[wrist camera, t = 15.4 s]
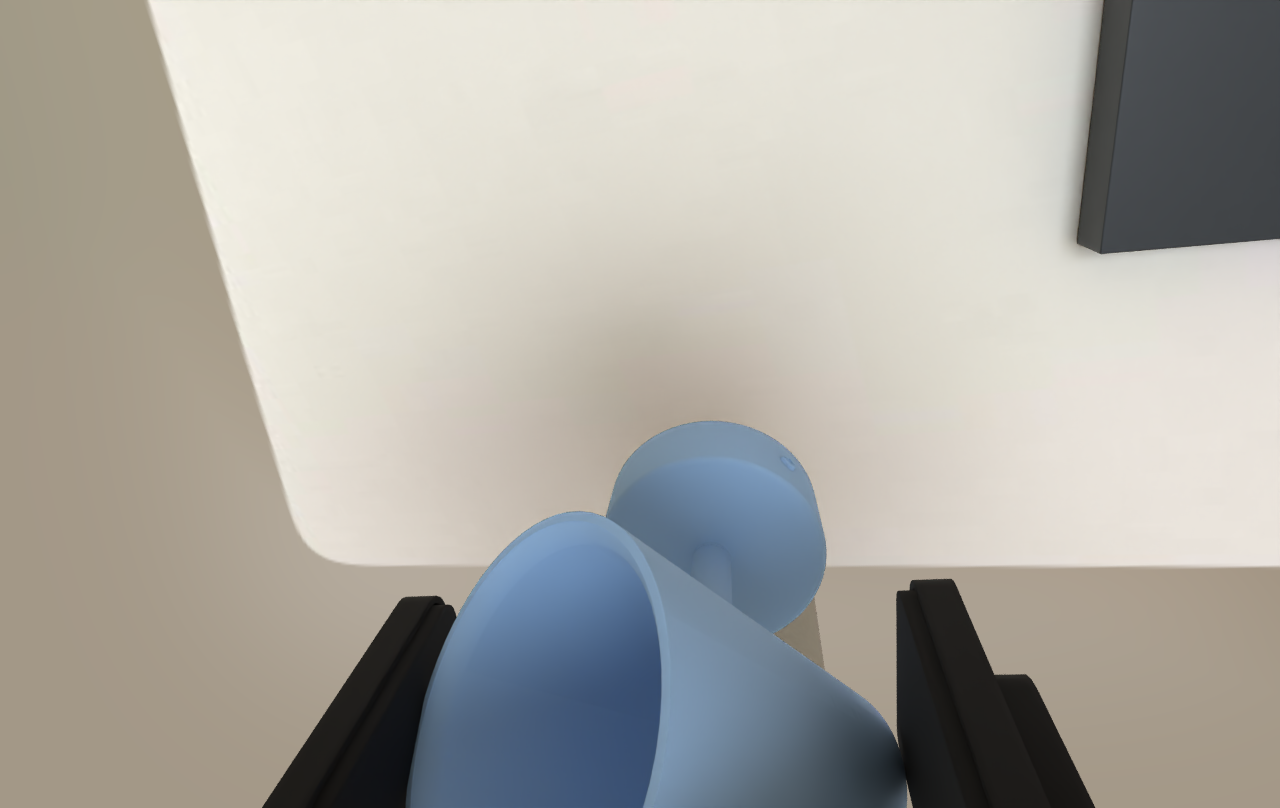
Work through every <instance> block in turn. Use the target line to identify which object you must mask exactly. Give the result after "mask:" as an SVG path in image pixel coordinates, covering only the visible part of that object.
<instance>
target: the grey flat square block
mask: <svg viewBox="0 0 1280 808" xmlns="http://www.w3.org/2000/svg"><path fill="white" fill-rule="evenodd" d="M1271 239H1280V0H1105V4H1104V13H1103V22H1102V30H1101V39H1100V48H1099V57H1098V65H1097V74H1096V83H1095V92H1094V100H1093V109H1092V118H1091V127H1090V136H1089V144H1088V153H1087V162H1086V171H1085V179H1084V188H1083V197H1082V206H1081V214H1080V223H1079V232H1078V241H1077V243H1078V244H1080V245H1082V246H1084V247H1087V248H1089V249H1091V250H1093V251H1095V252H1097V253H1100V254H1107V253H1119V252H1131V251H1142V250H1154V249H1166V248H1177V247H1189V246H1201V245H1213V244H1224V243H1236V242H1248V241H1260V240H1271Z"/></svg>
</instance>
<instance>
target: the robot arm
mask: <svg viewBox="0 0 1280 808" xmlns="http://www.w3.org/2000/svg"><path fill="white" fill-rule="evenodd" d="M896 601H897V602H896V611H897V736H898V744H899V750H900V752H901V756H902V760H903V763H904V768H905V774H906V780H907V784H908V789H909V792H910V797H911V801H912V806H913V808H1095V806H1094V804H1093V802H1092V800H1091V798H1090V796H1089V794H1088V792H1087V790H1086V788H1085V786H1084V784H1083V782H1082V780H1081V778H1080V776H1079V774H1078V771H1077V770H1076V767H1075V765H1074V763H1073V761H1072V760H1071V757H1070V755H1069V753H1068V751H1067V749H1066V747H1065V745H1064V743H1063V741H1062V739H1061V737H1060V735H1059V733H1058V731H1057V729H1056V727H1055V725H1054V723H1053V720H1052V718H1051V716H1050V714H1049V712H1048V710H1047V708H1046V706H1045V704H1044V702H1043V700H1042V698H1041V696H1040V694H1039V692H1038V690H1037V688H1036V686H1035V685H1034V683H1033V681H1032V680H1031V679H1030V678H1029V677H1028V676H1027V675H1026V674H1025V675H1024V674H1023V675H1022V674H1021V675H994V673H993V671H992V668H991V666H990V664H989V661H988V659H987V657H986V655H985V652H984V650H983V648H982V645H981V643H980V640H979V638H978V636H977V633H976V631H975V629H974V626H973V624H972V622H971V619H970V617H969V615H968V613H967V610H966V608H965V605H964V603H963V601H962V598H961V596H960V594H959V591H958V589H957V587H956V585H955V583H954V581H953V580H952V579H933V580H912V581H911V583H910V590H909V591H898V592H897V598H896ZM456 618H457V617H456V613H455V611H454V608H453V607H452V606H451V605H445V603H444V601H443V600H442V599H441V597H438V596H420V597H419V596H418V597H405V598H402V599H401V600H400V601H399V603H398V604H397V606H396V607H395V609H394V610H393V612H392V613H391V615H390V616H389V618H388V619H387V621H386V622H385V624H384V625H383V627H382V628H381V630H380V631H379V633H378V634H377V636H376V637H375V639H374V640H373V642H372V643H371V645H370V646H369V648H368V649H367V651H366V652H365V654H364V655H363V657H362V658H361V660H360V661H359V663H358V664H357V666H356V667H355V669H354V670H353V672H352V673H351V675H350V676H349V678H348V679H347V681H346V682H345V684H344V685H343V687H342V688H341V690H340V691H339V693H338V694H337V696H336V697H335V699H334V700H333V702H332V703H331V705H330V706H329V708H328V709H327V711H326V712H325V714H324V715H323V717H322V718H321V720H320V721H319V723H318V724H317V726H316V727H315V729H314V730H313V732H312V733H311V735H310V736H309V738H308V739H307V741H306V742H305V744H304V745H303V747H302V748H301V750H300V751H299V753H298V754H297V756H296V757H295V759H294V760H293V762H292V763H291V765H290V766H289V768H288V769H287V771H286V772H285V774H284V775H283V777H282V778H281V780H280V782H279V783H278V784H277V786H276V787H275V789H274V791H273V792H272V793H271V795H270V796H269V798H268V799H267V801H266V802H265V804H264V805H263V807H262V808H406V794H407V785H408V780H409V774H410V769H411V764H412V759H413V754H414V749H415V743H416V738H417V733H418V728H419V723H420V718H421V712H422V707H423V702H424V698H425V695H426V691H427V688H428V685H429V682H430V679H431V676H432V673H433V670H434V668H435V665H436V662H437V660H438V657H439V655H440V652H441V650H442V647H443V645H444V643H445V640H446V638H447V636H448V634H449V632H450V630H451V627H452V625H453V623H454V621H455V620H456Z"/></svg>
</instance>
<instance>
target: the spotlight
mask: <svg viewBox="0 0 1280 808" xmlns="http://www.w3.org/2000/svg"><path fill="white" fill-rule="evenodd" d="M825 565H826V541H825V536H824V532H823V528H822V523H821V519H820V515H819V511H818V507H817V502H816V498H815V494H814V490H813V487H812V484H811V482H810V479H809V477H808V475H807V473H806V472H805V470H804V468H803V467H802V465H801V464H800V463H799V461H798V460H797V459H796V458H795V457H794V455H793V454H792V453H791V452H790V451H789V450H788V449H786V448H785V447H784V446H783V445H782V444H780V443H779V442H778V441H776V440H775V439H773V438H771V437H770V436H768V435H766V434H764V433H762V432H760V431H758V430H755V429H753V428H750V427H747V426H744V425H740V424H735V423H730V422H722V421H701V422H693V423H688V424H683V425H680V426H676V427H673V428H671V429H668V430H666V431H663V432H661V433H660V434H658V435H656V436H654V437H653V438H651V439H649V440H648V441H647V442H645V443H644V444H643V445H641V446H640V447H639V448H638V449H637V450H636V451H635V452H634V453H633V454H632V455H631V456H630V458H629V459H628V460H627V461H626V463H625V464H624V466H623V467H622V469H621V471H620V473H619V475H618V477H617V480H616V482H615V485H614V489H613V492H612V496H611V500H610V503H609V507H608V511H607V514H606V518H605V517H604V516H601V515H598V514H594V513H591V512H582V511H576V512H566V513H562V514H558V515H555V516H552V517H550V518H547V519H545V520H543V521H541V522H539V523H537V524H535V525H534V526H532V527H531V528H529V529H528V530H526V531H525V532H523V533H522V534H521V535H520V536H518V537H517V538H516V539H515V540H514V541H513V542H511V543H510V544H509V545H508V546H507V547H506V548H505V549H504V550H503V551H502V552H501V553H500V554H499V556H498V557H497V558H496V559H495V560H494V561H493V563H492V564H491V565H490V566H489V567H488V569H487V570H486V571H485V573H484V574H483V575H482V577H481V578H480V579H479V581H478V583H477V584H476V585H475V587H474V588H473V590H472V591H471V593H470V595H469V596H468V598H467V600H466V601H465V603H464V605H463V606H462V608H461V610H460V612H459V614H458V616H457V618H456V620H455V621H454V623H453V625H452V627H451V630H450V632H449V634H448V636H447V638H446V640H445V643H444V645H443V647H442V650H441V652H440V655H439V657H438V660H437V662H436V665H435V668H434V670H433V673H432V676H431V679H430V682H429V685H428V688H427V691H426V695H425V698H424V702H423V707H422V712H421V718H420V723H419V728H418V733H417V738H416V743H415V749H414V754H413V759H412V764H411V769H410V774H409V780H408V785H407V794H406V808H906V806H907V783H906V774H905V768H904V763H903V760H902V756H901V752H900V750H899V747H898V744H897V742H896V740H895V737H894V735H893V733H892V731H891V730H890V728H889V726H888V725H887V723H886V721H885V720H884V719H883V717H882V716H881V714H880V713H879V712H878V711H877V710H876V709H875V708H874V707H873V706H872V705H871V704H870V703H869V702H868V701H867V700H865V699H864V698H863V697H861V696H860V695H859V694H857V693H856V692H855V691H853V690H852V689H850V688H849V687H847V686H846V685H845V684H843V683H842V682H840V681H839V680H838V679H836V678H835V677H833V676H832V675H830V674H829V673H827V672H826V671H825V670H823V669H822V668H821V667H819V666H818V665H816V664H815V663H813V662H812V661H811V660H809V659H808V658H806V657H805V656H804V655H802V654H801V653H799V652H798V651H796V650H795V649H794V648H792V647H791V646H789V645H788V644H786V643H785V642H784V641H782V640H781V639H779V638H778V637H777V636H775V635H774V634H773V633H775V632H777V631H779V630H780V629H782V628H784V627H785V626H787V625H788V624H789V623H791V622H792V621H793V620H794V619H796V618H797V617H798V616H799V615H800V614H801V613H802V612H803V611H804V610H805V609H806V607H807V606H808V605H809V603H810V602H811V601H812V599H813V598H814V596H815V594H816V592H817V590H818V588H819V586H820V584H821V581H822V578H823V575H824V571H825Z"/></svg>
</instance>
